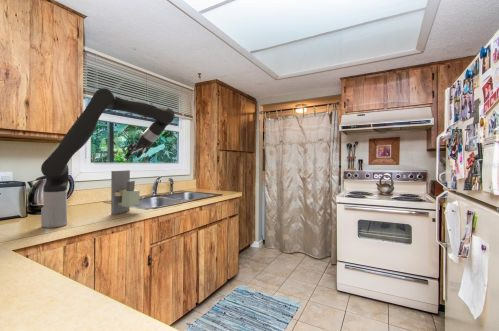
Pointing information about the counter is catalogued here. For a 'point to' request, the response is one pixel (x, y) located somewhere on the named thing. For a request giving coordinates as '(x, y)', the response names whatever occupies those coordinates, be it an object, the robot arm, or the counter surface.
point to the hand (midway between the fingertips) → (131, 156)
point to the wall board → (117, 184)
